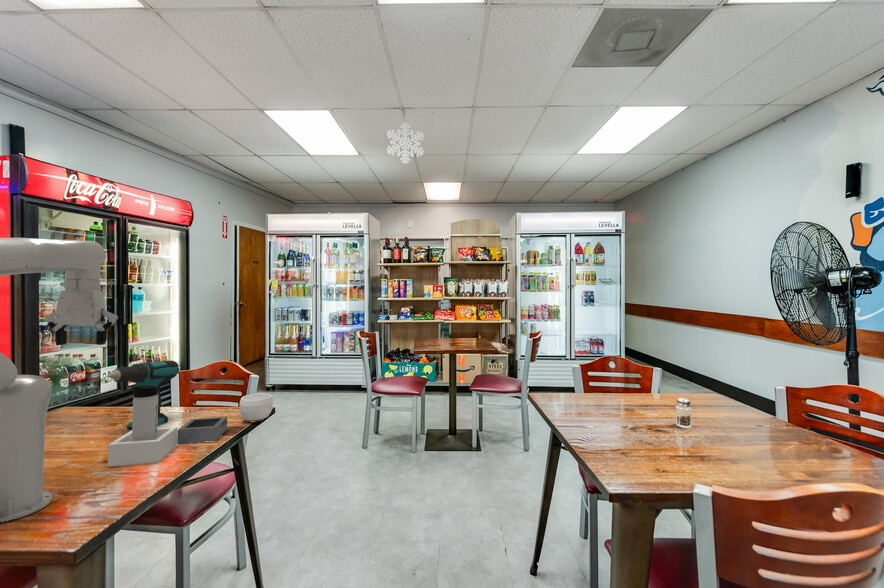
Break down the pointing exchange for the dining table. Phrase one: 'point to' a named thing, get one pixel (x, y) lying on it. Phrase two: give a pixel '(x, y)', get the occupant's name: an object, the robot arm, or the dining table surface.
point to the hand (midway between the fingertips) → (81, 344)
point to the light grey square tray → (142, 448)
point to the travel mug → (145, 413)
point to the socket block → (202, 430)
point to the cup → (256, 406)
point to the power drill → (148, 378)
